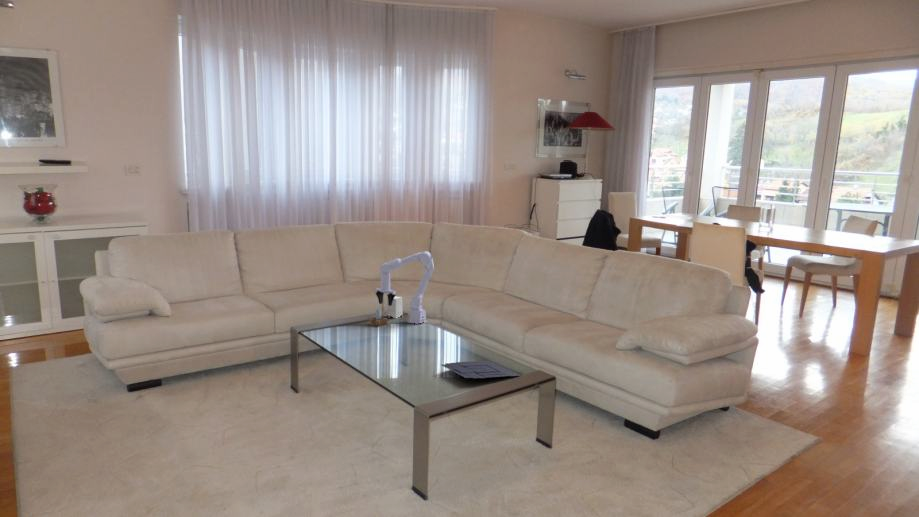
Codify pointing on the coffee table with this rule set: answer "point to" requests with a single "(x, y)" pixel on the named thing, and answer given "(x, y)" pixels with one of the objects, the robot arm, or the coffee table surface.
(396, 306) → the supplement box
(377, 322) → the brown square frame
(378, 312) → the dowel
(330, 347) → the coffee table surface
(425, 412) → the coffee table surface
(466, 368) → the grey flat block
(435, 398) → the coffee table surface
